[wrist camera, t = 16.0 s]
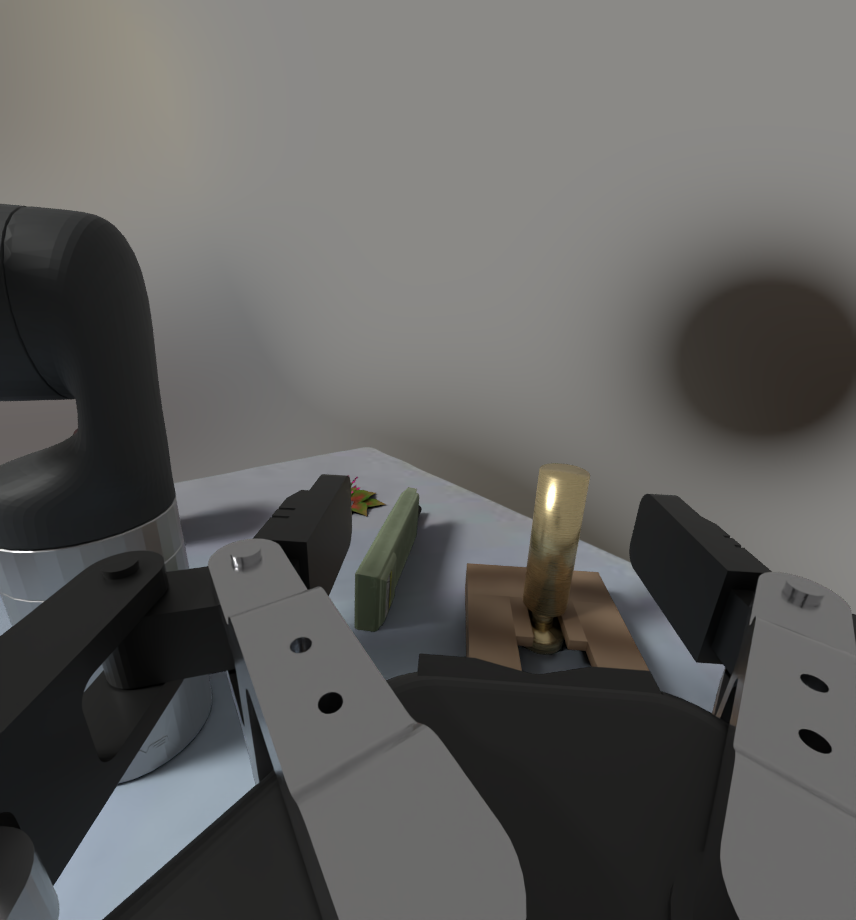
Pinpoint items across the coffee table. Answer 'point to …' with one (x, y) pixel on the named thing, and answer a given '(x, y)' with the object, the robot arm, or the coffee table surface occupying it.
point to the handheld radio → (385, 563)
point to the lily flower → (362, 500)
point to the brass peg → (553, 551)
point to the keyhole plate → (508, 625)
